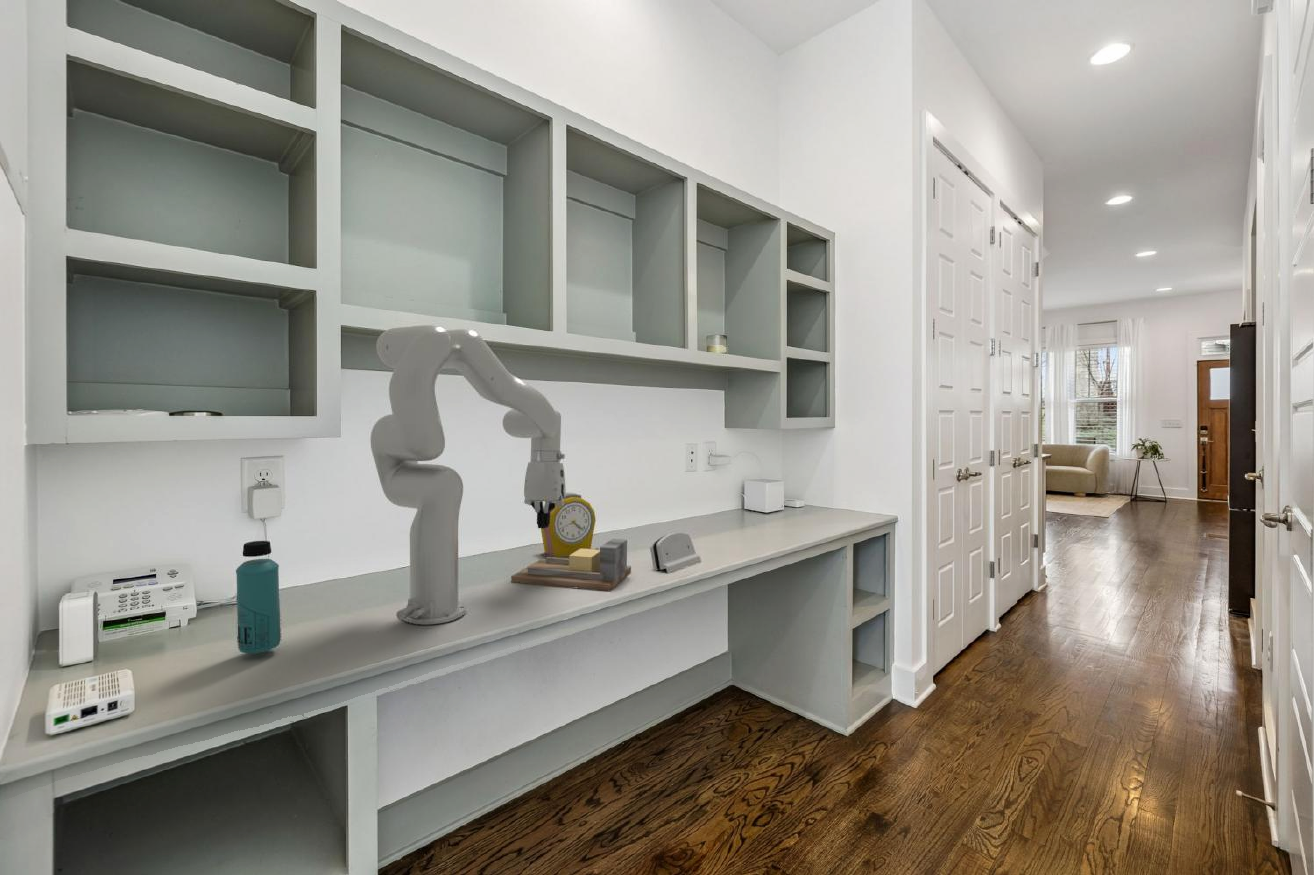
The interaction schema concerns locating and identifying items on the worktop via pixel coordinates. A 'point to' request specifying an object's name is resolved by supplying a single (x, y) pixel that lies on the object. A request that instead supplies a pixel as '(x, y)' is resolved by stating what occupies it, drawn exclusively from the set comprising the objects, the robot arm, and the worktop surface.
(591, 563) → the block
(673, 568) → the hinge
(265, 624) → the beverage bottle
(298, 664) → the worktop surface
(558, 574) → the base
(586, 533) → the alarm clock
